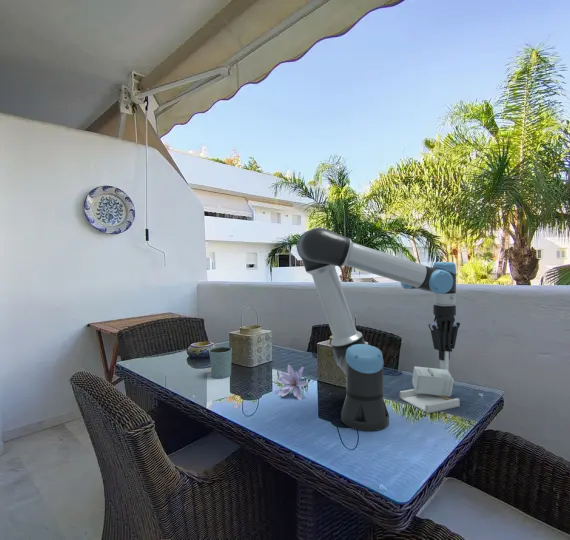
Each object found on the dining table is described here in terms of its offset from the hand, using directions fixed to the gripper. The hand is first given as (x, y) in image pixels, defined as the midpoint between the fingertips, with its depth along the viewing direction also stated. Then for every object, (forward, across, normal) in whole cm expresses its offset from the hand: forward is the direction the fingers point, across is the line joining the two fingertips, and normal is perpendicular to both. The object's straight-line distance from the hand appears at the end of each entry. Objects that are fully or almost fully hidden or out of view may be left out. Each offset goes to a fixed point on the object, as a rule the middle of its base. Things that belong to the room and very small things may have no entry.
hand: (444, 368), depth 135 cm
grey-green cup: (+12, -70, +60) cm, 93 cm away
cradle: (+11, -7, 0) cm, 13 cm away
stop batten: (+11, 0, 0) cm, 11 cm away
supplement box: (+6, +4, +1) cm, 7 cm away
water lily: (+12, -50, +27) cm, 58 cm away
